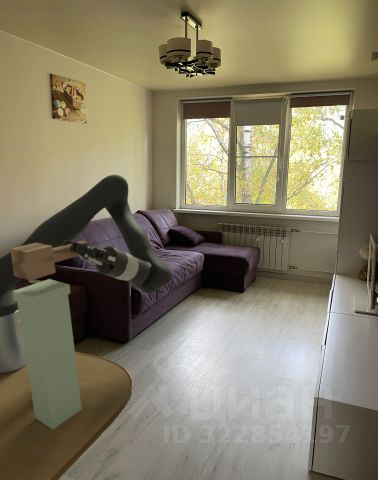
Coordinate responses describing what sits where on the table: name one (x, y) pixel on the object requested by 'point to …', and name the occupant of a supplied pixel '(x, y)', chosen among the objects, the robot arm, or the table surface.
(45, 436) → the table surface
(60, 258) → the mallet
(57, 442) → the table surface
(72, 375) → the stand
